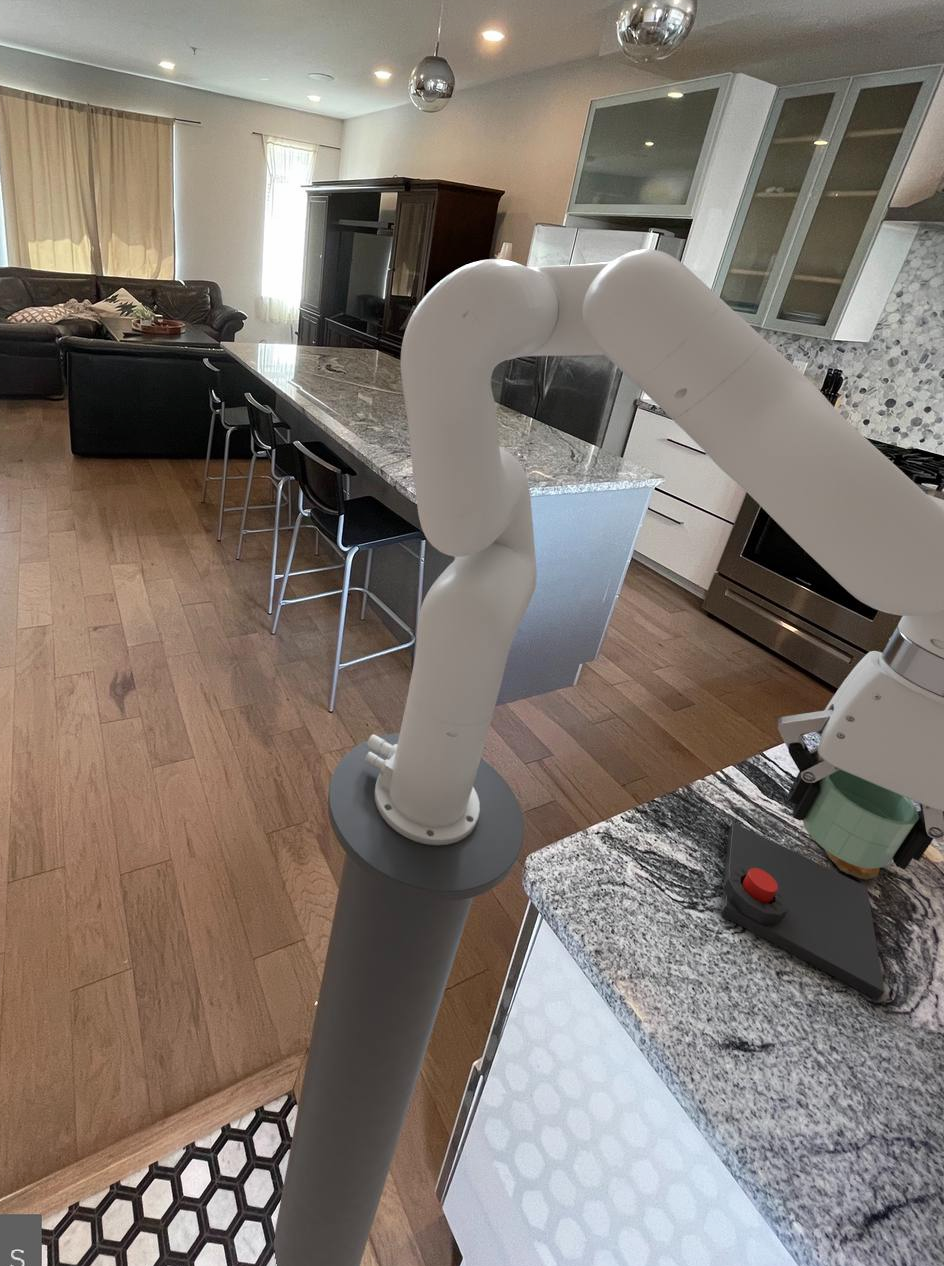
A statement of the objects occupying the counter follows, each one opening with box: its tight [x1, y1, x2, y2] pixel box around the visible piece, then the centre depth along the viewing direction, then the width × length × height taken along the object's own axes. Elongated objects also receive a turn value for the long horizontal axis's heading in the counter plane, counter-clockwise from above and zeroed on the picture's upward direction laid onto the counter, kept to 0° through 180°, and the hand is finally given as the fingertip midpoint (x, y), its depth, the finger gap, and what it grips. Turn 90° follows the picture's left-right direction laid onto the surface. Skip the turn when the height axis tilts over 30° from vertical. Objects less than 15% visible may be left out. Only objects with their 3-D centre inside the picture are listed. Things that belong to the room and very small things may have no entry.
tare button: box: [743, 868, 778, 903], centre depth 67 cm, size 3×3×2 cm
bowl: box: [802, 770, 919, 869], centre depth 55 cm, size 7×7×6 cm
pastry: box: [824, 849, 882, 881], centre depth 77 cm, size 9×7×4 cm
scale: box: [720, 822, 885, 1001], centre depth 69 cm, size 14×14×3 cm
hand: (845, 831), depth 56 cm, fingers closed on bowl, 6 cm apart
